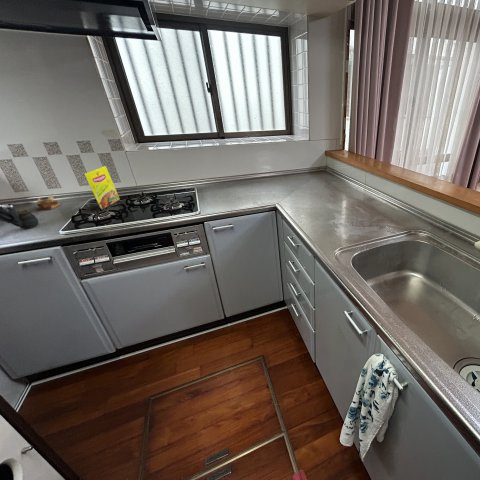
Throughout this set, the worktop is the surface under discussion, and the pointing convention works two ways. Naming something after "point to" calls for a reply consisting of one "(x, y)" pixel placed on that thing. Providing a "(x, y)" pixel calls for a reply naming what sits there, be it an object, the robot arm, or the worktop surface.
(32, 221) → the mate gourd
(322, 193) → the worktop surface
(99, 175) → the food package
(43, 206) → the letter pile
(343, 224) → the worktop surface
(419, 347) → the worktop surface
